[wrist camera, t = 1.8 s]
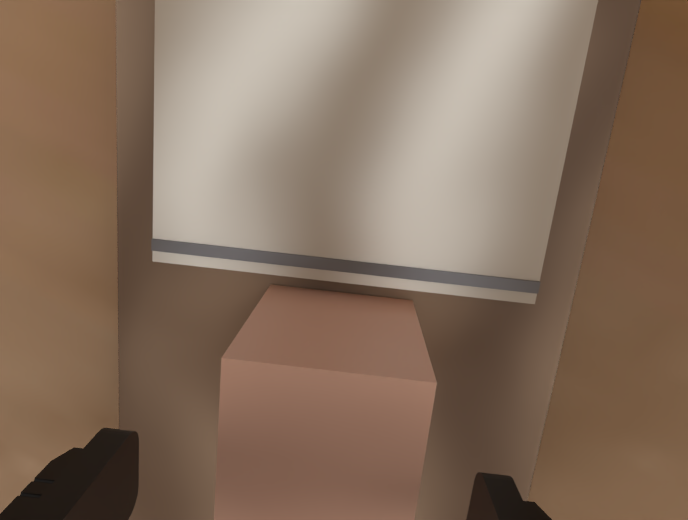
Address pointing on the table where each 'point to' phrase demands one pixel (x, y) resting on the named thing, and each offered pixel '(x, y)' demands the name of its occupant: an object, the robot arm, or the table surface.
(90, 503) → the robot arm
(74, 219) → the table surface
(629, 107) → the table surface
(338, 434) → the stub
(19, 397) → the table surface
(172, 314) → the board
